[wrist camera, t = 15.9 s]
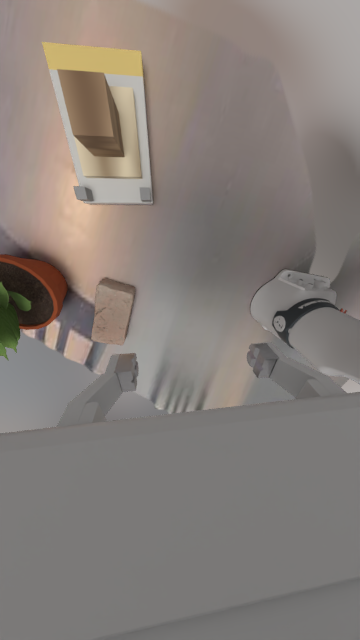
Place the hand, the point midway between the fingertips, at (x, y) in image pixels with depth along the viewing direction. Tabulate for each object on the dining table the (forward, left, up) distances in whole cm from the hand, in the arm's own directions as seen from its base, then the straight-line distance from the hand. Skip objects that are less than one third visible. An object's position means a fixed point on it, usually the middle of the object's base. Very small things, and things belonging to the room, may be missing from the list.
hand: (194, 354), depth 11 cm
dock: (+9, -19, -31) cm, 38 cm away
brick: (+15, +12, -32) cm, 37 cm away
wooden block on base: (+9, -19, -28) cm, 35 cm away
